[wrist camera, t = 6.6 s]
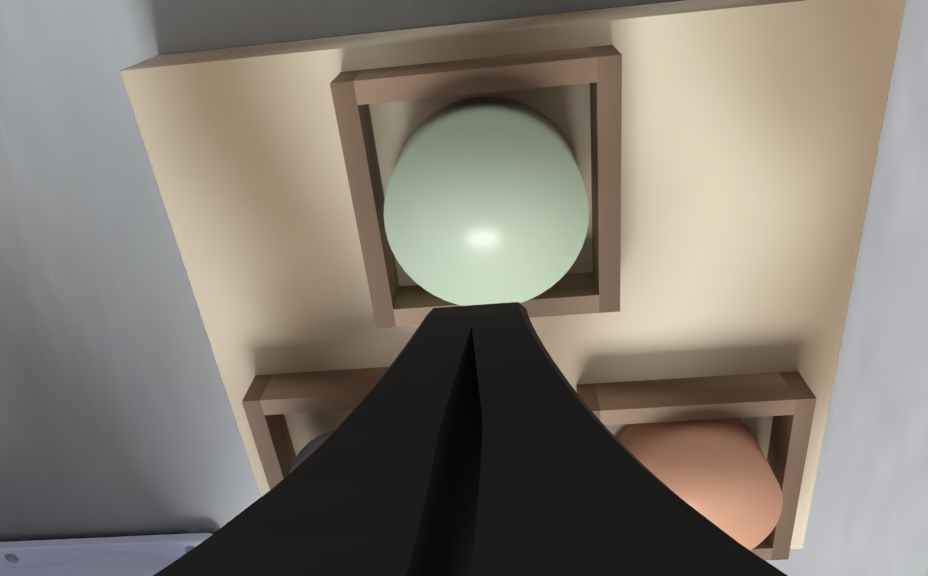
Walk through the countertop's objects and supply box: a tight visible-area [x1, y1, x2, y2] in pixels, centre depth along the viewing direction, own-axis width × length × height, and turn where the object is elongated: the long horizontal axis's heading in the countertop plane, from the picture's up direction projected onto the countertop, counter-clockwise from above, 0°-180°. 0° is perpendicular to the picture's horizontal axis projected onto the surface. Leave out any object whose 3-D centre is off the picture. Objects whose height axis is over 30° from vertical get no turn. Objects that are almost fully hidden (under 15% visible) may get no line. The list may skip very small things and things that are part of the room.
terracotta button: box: [618, 418, 783, 550], centre depth 19 cm, size 4×4×2 cm
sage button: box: [384, 97, 589, 306], centre depth 15 cm, size 4×4×2 cm
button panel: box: [120, 0, 906, 560], centre depth 19 cm, size 17×16×3 cm
